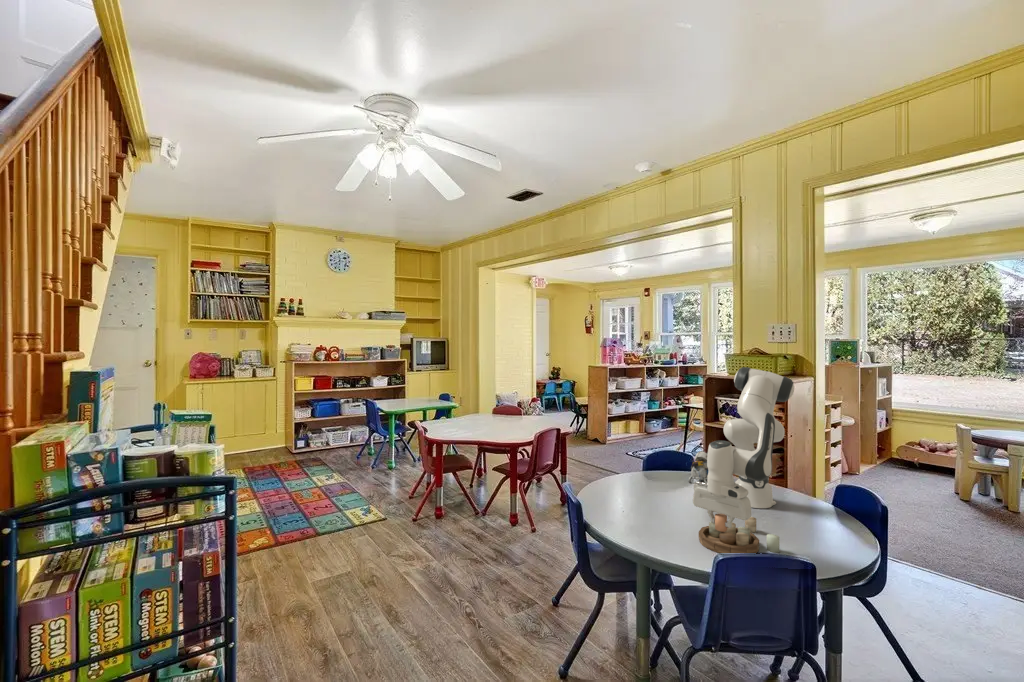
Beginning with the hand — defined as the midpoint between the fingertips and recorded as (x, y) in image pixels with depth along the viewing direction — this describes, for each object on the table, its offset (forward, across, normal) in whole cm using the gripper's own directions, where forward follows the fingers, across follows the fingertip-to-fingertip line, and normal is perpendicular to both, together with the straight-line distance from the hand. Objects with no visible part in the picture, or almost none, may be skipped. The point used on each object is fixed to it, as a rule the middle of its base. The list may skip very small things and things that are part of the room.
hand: (721, 525), depth 167 cm
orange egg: (+2, 0, 0) cm, 2 cm away
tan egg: (+9, 0, +24) cm, 26 cm away
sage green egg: (+9, +12, +13) cm, 20 cm away
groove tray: (+9, 0, +6) cm, 10 cm away
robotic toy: (+8, -47, +71) cm, 85 cm away
